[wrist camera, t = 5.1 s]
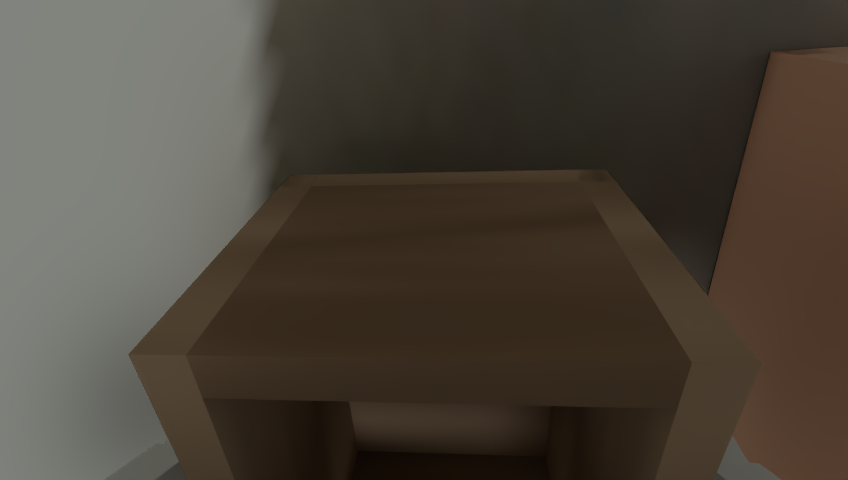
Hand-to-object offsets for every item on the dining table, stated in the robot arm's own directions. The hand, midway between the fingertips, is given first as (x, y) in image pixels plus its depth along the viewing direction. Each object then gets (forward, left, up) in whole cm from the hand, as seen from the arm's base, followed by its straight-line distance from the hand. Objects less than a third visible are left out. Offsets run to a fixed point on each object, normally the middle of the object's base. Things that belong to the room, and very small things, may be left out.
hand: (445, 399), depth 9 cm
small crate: (0, 0, -2) cm, 2 cm away
